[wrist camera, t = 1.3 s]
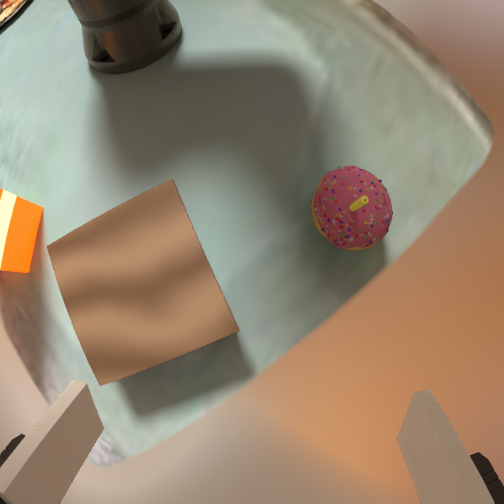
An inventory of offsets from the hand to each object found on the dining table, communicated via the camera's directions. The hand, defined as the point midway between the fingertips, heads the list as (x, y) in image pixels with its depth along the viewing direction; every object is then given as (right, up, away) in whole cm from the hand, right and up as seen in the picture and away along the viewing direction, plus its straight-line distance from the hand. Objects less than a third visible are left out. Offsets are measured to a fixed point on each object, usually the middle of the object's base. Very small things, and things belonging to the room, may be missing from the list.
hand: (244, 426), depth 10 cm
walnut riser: (-11, +3, +22) cm, 25 cm away
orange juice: (-31, +9, +22) cm, 40 cm away
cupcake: (+10, +11, +24) cm, 28 cm away
